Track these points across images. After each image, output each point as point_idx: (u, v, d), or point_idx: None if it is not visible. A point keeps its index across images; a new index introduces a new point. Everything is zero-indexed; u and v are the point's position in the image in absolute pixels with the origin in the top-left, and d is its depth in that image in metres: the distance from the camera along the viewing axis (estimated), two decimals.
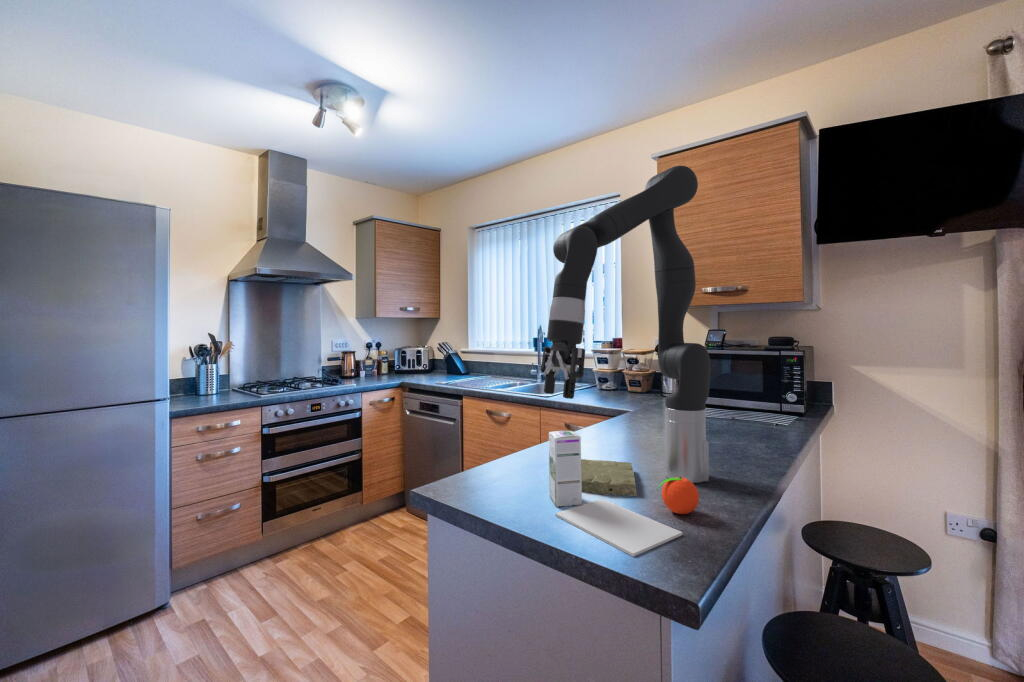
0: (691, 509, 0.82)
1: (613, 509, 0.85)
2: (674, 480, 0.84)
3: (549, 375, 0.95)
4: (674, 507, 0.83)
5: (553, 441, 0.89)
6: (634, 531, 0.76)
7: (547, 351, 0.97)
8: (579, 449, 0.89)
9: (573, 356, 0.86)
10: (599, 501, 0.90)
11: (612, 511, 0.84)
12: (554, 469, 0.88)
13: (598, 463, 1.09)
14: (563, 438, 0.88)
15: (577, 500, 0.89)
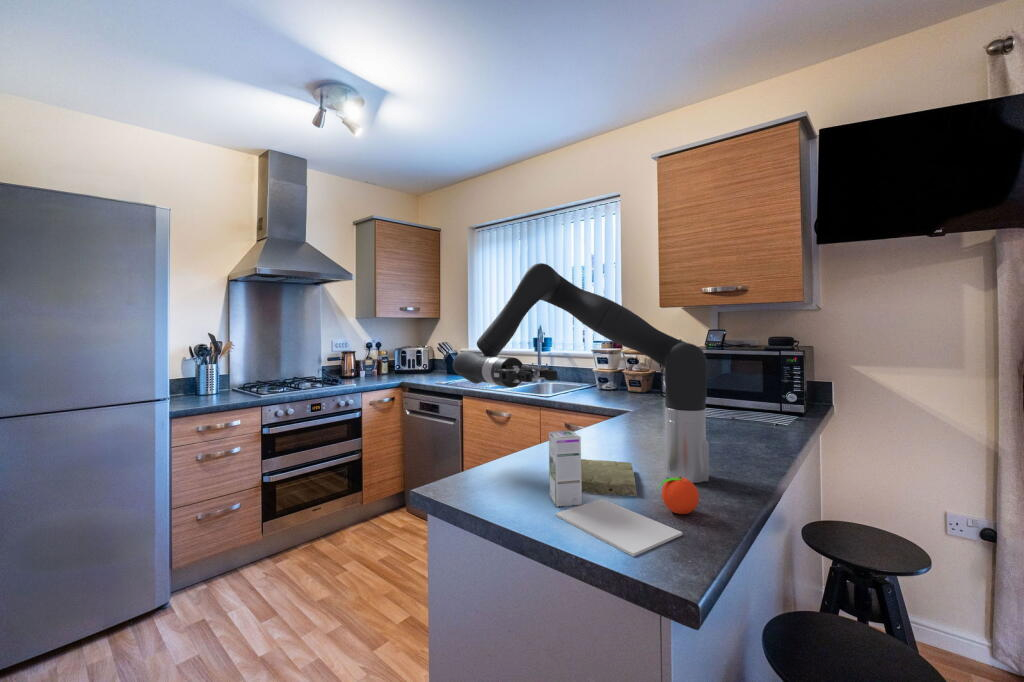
0: (691, 509, 0.82)
1: (613, 509, 0.85)
2: (674, 480, 0.84)
3: (544, 376, 1.01)
4: (674, 507, 0.83)
5: (553, 441, 0.89)
6: (634, 531, 0.76)
7: None
8: (579, 449, 0.89)
9: None
10: (599, 501, 0.90)
11: (612, 511, 0.84)
12: (554, 469, 0.88)
13: (598, 463, 1.09)
14: (563, 438, 0.88)
15: (577, 500, 0.89)
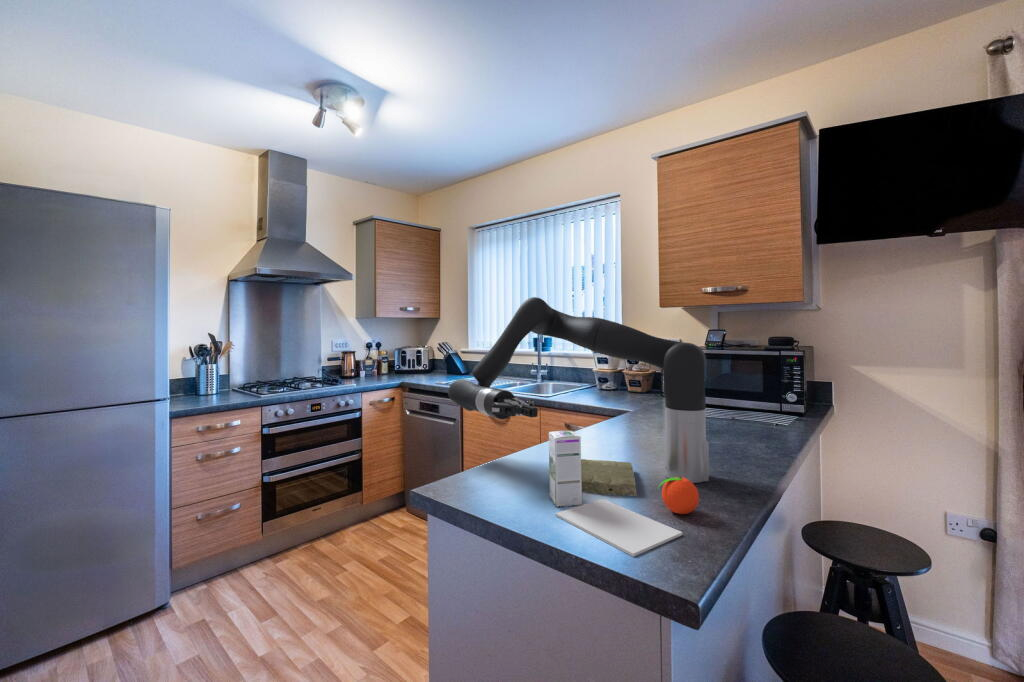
0: (691, 509, 0.82)
1: (613, 509, 0.85)
2: (674, 480, 0.84)
3: None
4: (674, 507, 0.83)
5: (553, 441, 0.89)
6: (634, 531, 0.76)
7: None
8: (579, 449, 0.89)
9: (499, 414, 1.03)
10: (599, 501, 0.90)
11: (612, 511, 0.84)
12: (554, 469, 0.88)
13: (598, 463, 1.09)
14: (563, 438, 0.88)
15: (577, 500, 0.89)
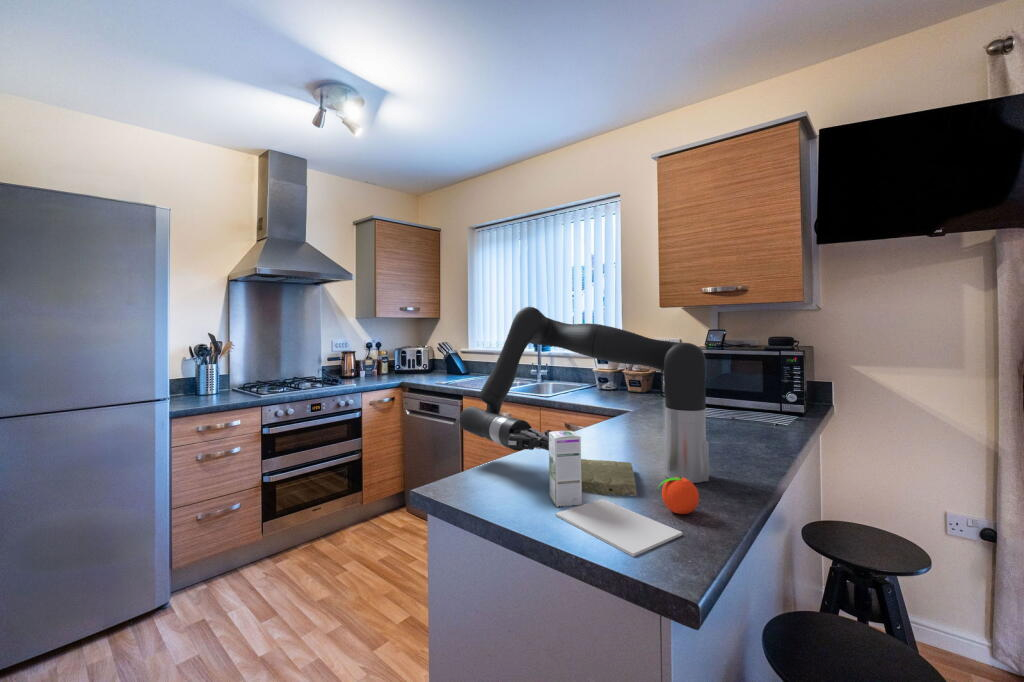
0: (691, 509, 0.82)
1: (613, 509, 0.85)
2: (674, 480, 0.84)
3: None
4: (674, 507, 0.83)
5: (553, 441, 0.89)
6: (634, 531, 0.76)
7: None
8: (579, 449, 0.89)
9: None
10: (599, 501, 0.90)
11: (612, 511, 0.84)
12: (554, 469, 0.88)
13: (598, 463, 1.09)
14: (563, 438, 0.88)
15: (577, 500, 0.89)
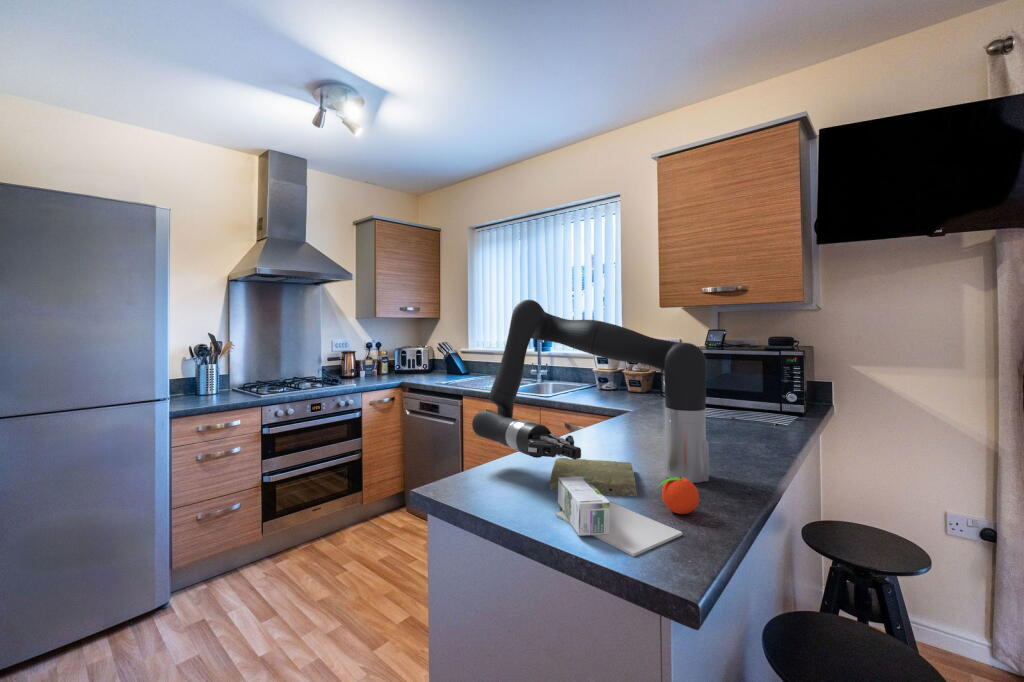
0: (691, 509, 0.82)
1: (613, 509, 0.85)
2: (674, 480, 0.84)
3: None
4: (674, 507, 0.83)
5: (577, 527, 0.75)
6: (634, 531, 0.76)
7: None
8: None
9: None
10: None
11: (612, 511, 0.84)
12: (567, 516, 0.80)
13: (598, 463, 1.09)
14: (589, 534, 0.74)
15: None
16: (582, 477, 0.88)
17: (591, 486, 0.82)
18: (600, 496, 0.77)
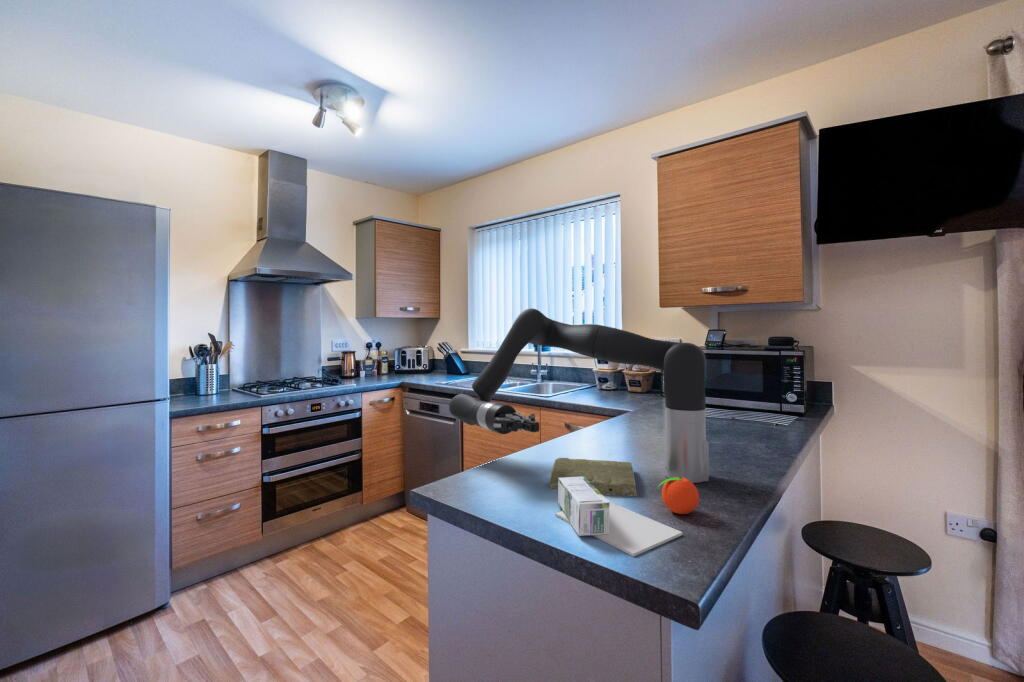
0: (691, 509, 0.82)
1: (613, 509, 0.85)
2: (674, 480, 0.84)
3: None
4: (674, 507, 0.83)
5: (577, 527, 0.75)
6: (634, 531, 0.76)
7: None
8: None
9: None
10: None
11: (612, 511, 0.84)
12: (567, 516, 0.80)
13: (598, 463, 1.09)
14: (589, 534, 0.74)
15: None
16: (582, 477, 0.88)
17: (591, 486, 0.82)
18: (600, 496, 0.77)
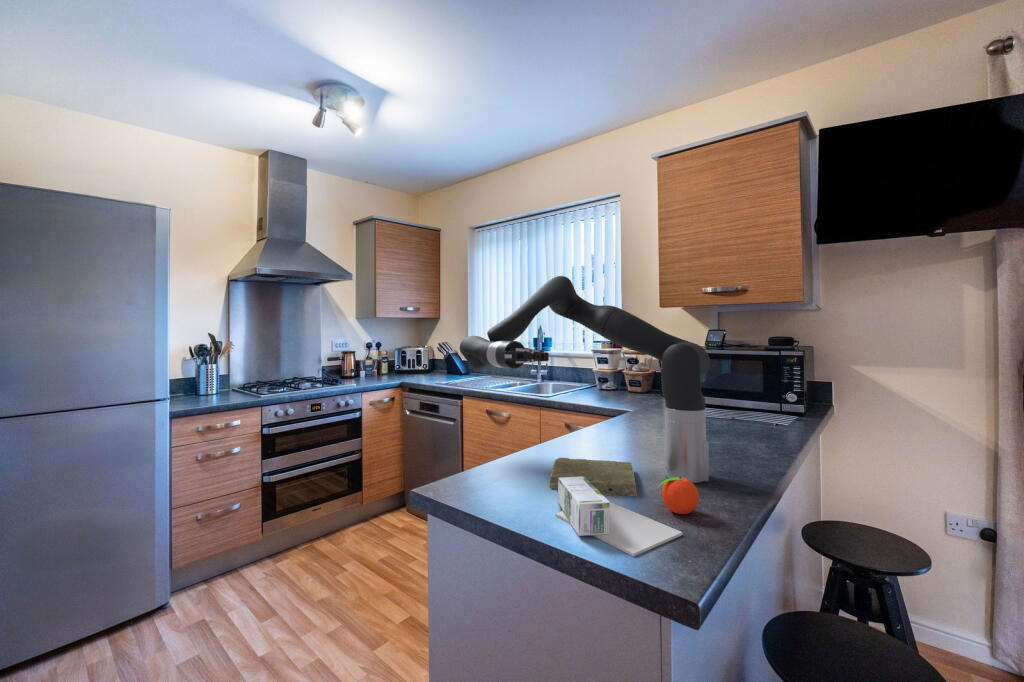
0: (691, 509, 0.82)
1: (613, 509, 0.85)
2: (674, 480, 0.84)
3: None
4: (674, 507, 0.83)
5: (577, 527, 0.75)
6: (634, 531, 0.76)
7: None
8: None
9: (511, 361, 1.07)
10: None
11: (612, 511, 0.84)
12: (567, 516, 0.80)
13: (598, 463, 1.09)
14: (589, 534, 0.74)
15: None
16: (582, 477, 0.88)
17: (591, 486, 0.82)
18: (600, 496, 0.77)
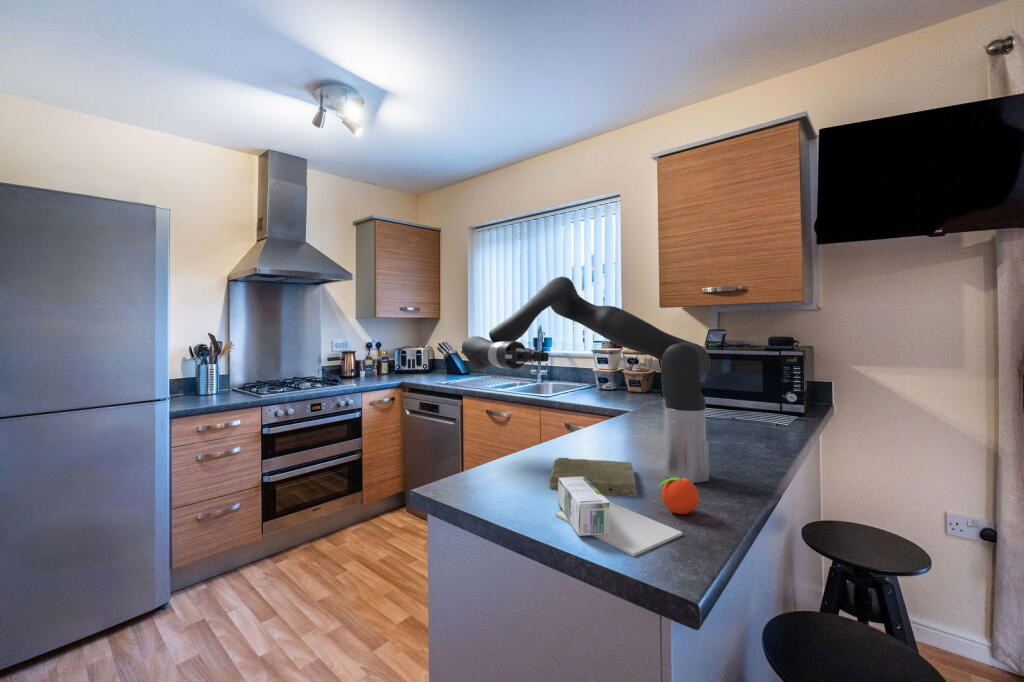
0: (691, 509, 0.82)
1: (613, 509, 0.85)
2: (674, 480, 0.84)
3: None
4: (674, 507, 0.83)
5: (577, 527, 0.75)
6: (634, 531, 0.76)
7: None
8: None
9: (511, 361, 1.08)
10: None
11: (612, 511, 0.84)
12: (567, 516, 0.80)
13: (598, 463, 1.09)
14: (589, 534, 0.74)
15: None
16: (582, 477, 0.88)
17: (591, 486, 0.82)
18: (600, 496, 0.77)
